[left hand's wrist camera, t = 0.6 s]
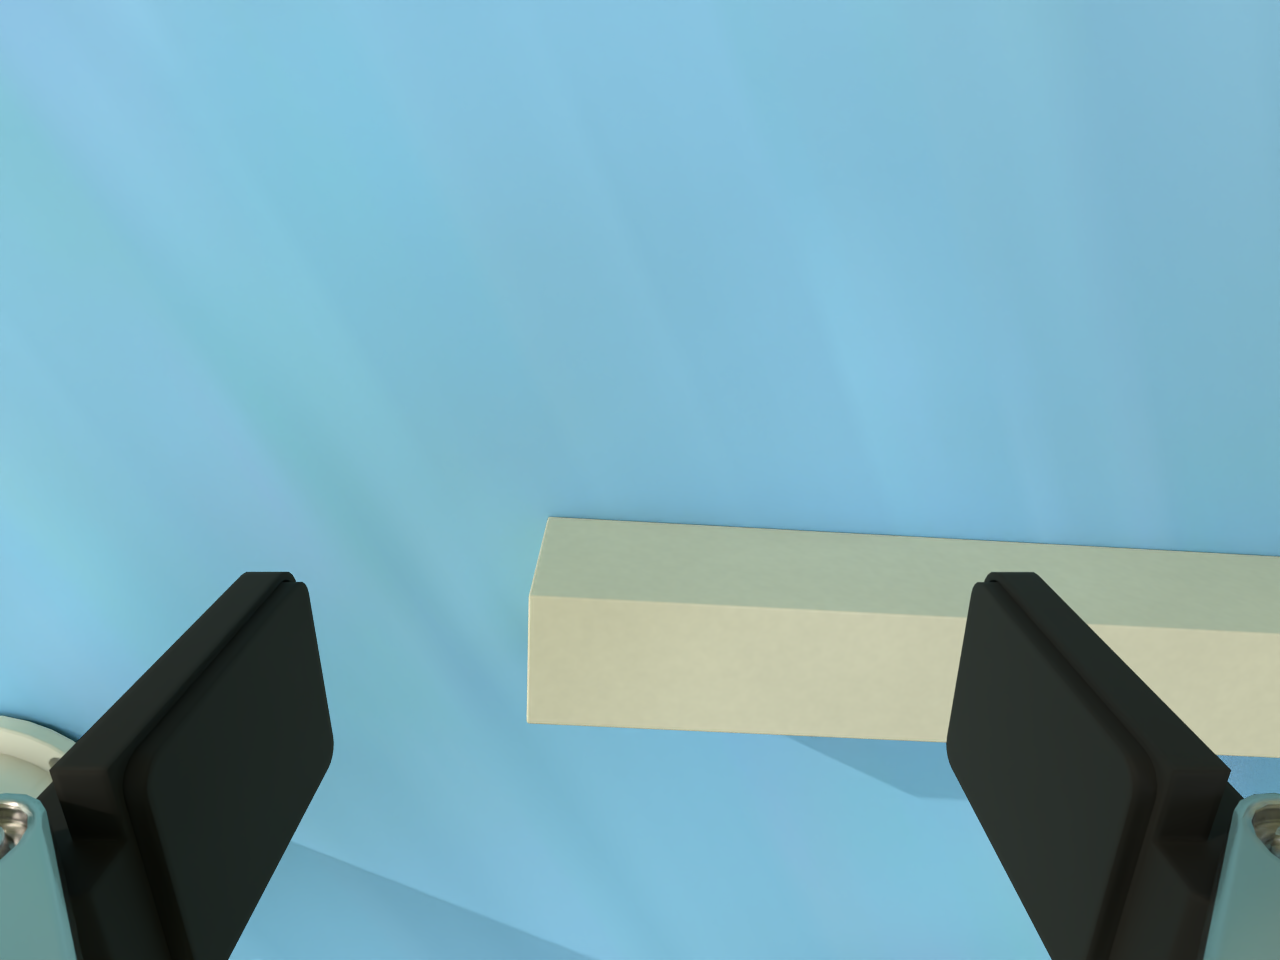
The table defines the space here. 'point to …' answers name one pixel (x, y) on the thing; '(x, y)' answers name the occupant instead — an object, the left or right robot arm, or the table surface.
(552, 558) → the block
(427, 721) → the table surface
